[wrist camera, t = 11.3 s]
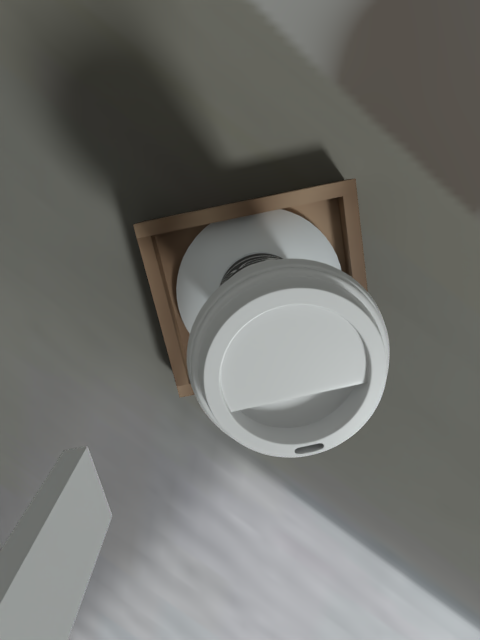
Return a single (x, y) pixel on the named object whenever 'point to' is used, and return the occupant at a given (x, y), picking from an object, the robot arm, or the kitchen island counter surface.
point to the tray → (180, 230)
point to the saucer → (244, 252)
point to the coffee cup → (288, 355)
